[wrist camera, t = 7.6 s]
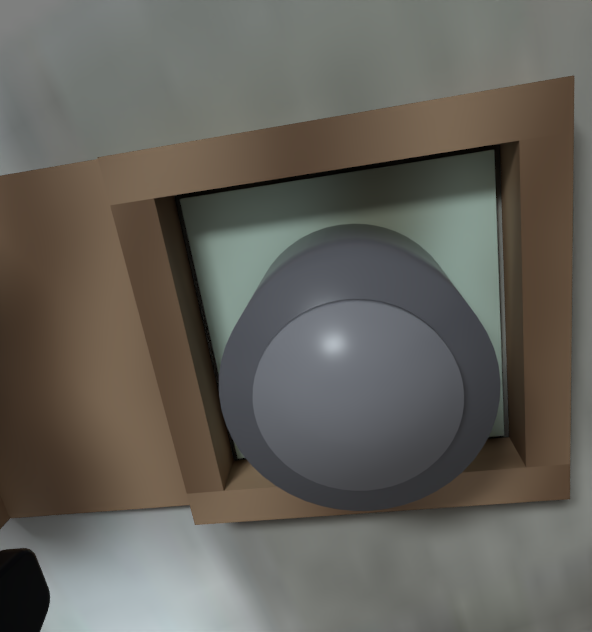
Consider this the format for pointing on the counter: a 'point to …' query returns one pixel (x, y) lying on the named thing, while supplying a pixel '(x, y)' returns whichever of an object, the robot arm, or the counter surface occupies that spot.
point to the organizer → (242, 281)
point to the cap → (358, 372)
